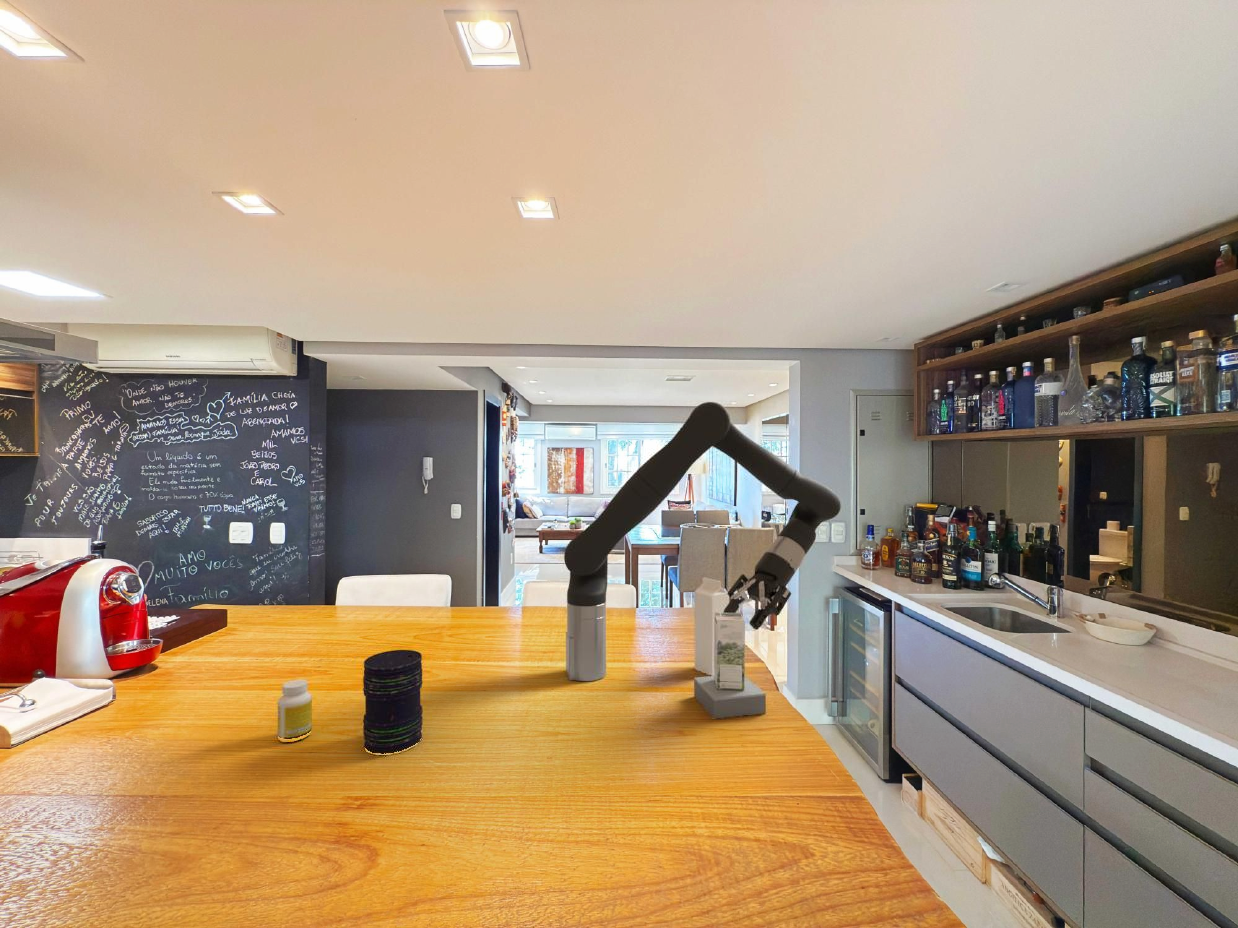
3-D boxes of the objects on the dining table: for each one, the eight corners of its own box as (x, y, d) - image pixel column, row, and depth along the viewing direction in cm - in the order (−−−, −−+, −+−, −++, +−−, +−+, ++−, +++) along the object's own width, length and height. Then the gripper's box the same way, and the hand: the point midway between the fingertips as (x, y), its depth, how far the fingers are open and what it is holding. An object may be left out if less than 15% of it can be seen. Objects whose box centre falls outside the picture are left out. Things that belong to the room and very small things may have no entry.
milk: (712, 676, 130) (711, 583, 130) (694, 669, 135) (693, 578, 134) (730, 670, 133) (729, 579, 133) (711, 663, 138) (711, 575, 138)
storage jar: (364, 761, 93) (364, 672, 93) (361, 736, 101) (361, 654, 102) (426, 747, 97) (426, 662, 97) (418, 724, 106) (418, 646, 106)
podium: (713, 719, 108) (713, 698, 108) (694, 696, 119) (694, 677, 119) (765, 713, 110) (765, 693, 110) (741, 691, 121) (741, 673, 121)
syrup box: (741, 680, 117) (741, 611, 117) (745, 691, 111) (745, 619, 111) (714, 679, 118) (713, 611, 118) (716, 690, 112) (716, 618, 112)
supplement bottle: (318, 732, 103) (318, 679, 103) (292, 746, 98) (292, 690, 98) (296, 727, 105) (296, 676, 105) (270, 741, 100) (270, 686, 100)
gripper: (748, 546, 126) (708, 603, 121) (795, 555, 113) (752, 618, 108) (766, 567, 128) (727, 624, 123) (814, 578, 116) (772, 641, 111)
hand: (739, 621), depth 116 cm, fingers open, 8 cm apart
